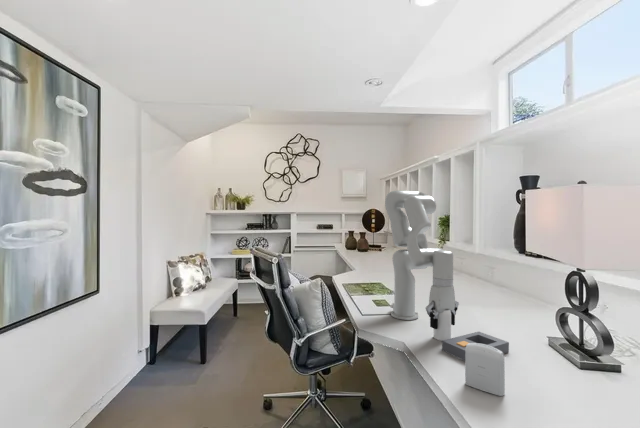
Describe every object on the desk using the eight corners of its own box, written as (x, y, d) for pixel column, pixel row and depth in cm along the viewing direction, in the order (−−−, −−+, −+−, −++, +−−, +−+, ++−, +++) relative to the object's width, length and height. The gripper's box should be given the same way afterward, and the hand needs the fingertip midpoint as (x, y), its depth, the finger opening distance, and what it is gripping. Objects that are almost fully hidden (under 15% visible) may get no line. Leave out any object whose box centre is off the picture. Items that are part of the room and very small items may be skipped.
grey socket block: (442, 350, 121) (442, 339, 121) (478, 340, 130) (478, 330, 130) (471, 363, 110) (471, 351, 110) (508, 352, 119) (508, 341, 119)
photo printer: (462, 385, 97) (463, 342, 96) (468, 379, 100) (468, 338, 100) (502, 398, 90) (502, 352, 89) (506, 392, 93) (507, 347, 93)
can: (440, 342, 128) (440, 310, 128) (430, 336, 134) (430, 306, 134) (454, 340, 130) (454, 309, 129) (444, 334, 136) (444, 305, 136)
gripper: (450, 278, 139) (450, 320, 139) (419, 282, 131) (419, 326, 131) (466, 281, 132) (465, 325, 132) (434, 286, 124) (433, 332, 124)
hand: (442, 326), depth 132 cm, fingers open, 9 cm apart
